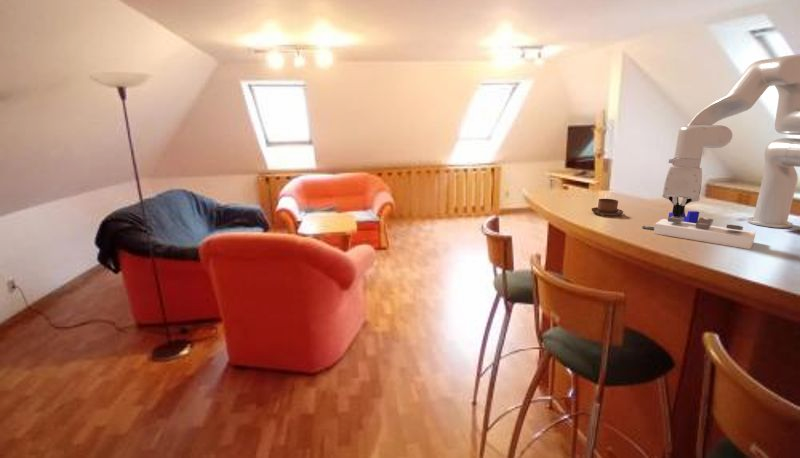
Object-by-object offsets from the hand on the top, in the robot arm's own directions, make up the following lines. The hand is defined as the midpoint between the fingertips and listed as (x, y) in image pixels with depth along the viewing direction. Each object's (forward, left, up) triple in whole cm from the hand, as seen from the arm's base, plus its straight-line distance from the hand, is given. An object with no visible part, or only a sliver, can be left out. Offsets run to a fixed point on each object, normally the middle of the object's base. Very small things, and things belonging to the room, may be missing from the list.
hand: (677, 216), depth 142 cm
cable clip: (-16, -1, -6) cm, 17 cm away
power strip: (+3, +6, -6) cm, 8 cm away
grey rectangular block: (+3, +16, -1) cm, 16 cm away
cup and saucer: (-12, -27, -6) cm, 30 cm away
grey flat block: (+3, 0, -1) cm, 3 cm away
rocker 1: (+3, +8, -1) cm, 9 cm away
